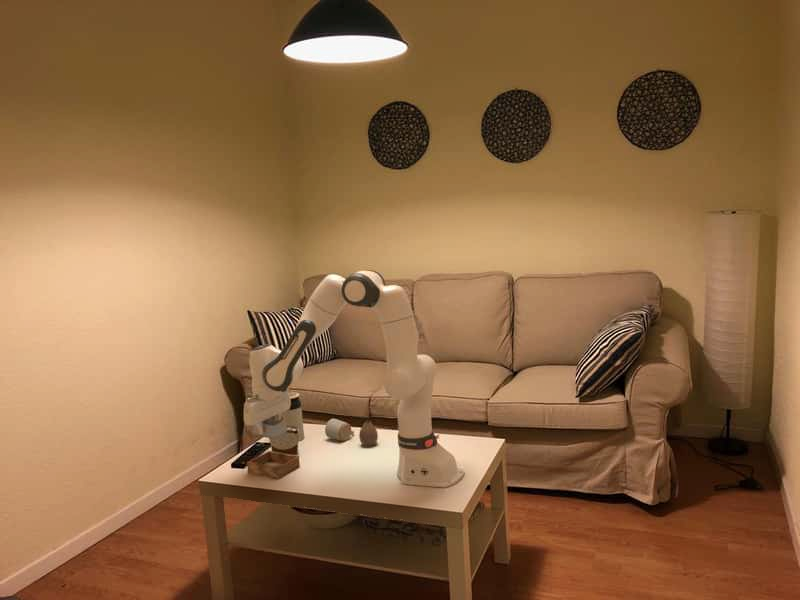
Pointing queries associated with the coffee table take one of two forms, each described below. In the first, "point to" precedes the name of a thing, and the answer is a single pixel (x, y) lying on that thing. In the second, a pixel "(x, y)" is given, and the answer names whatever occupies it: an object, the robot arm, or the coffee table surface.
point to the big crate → (273, 464)
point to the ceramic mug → (338, 430)
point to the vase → (368, 434)
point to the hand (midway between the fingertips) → (269, 429)
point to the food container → (286, 441)
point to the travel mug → (294, 414)
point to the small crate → (271, 428)
